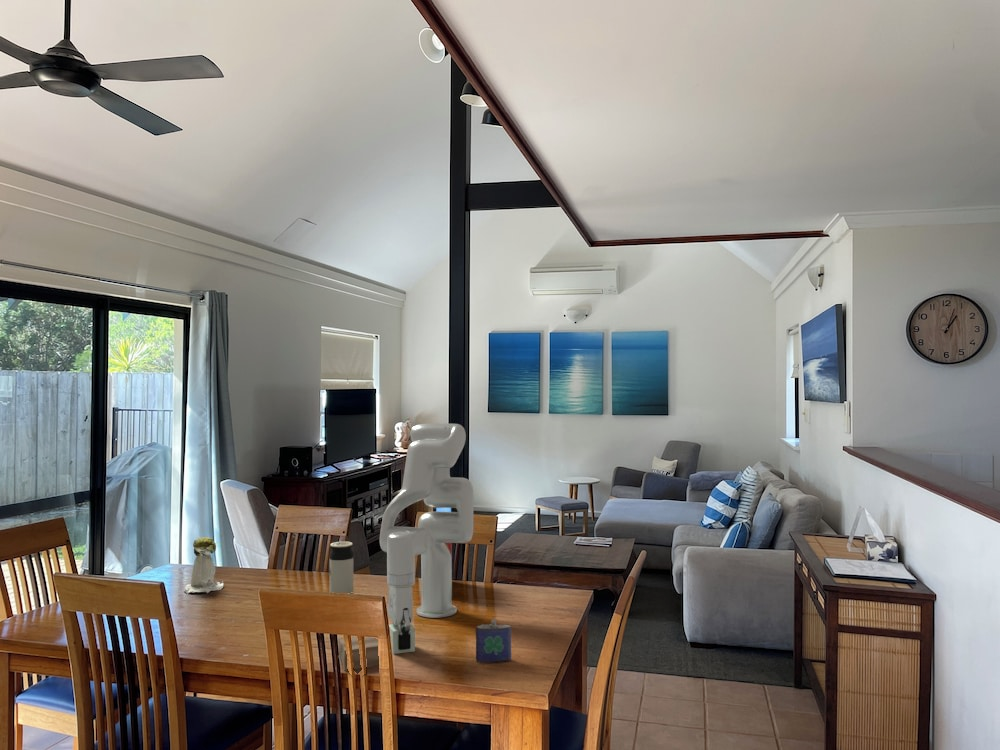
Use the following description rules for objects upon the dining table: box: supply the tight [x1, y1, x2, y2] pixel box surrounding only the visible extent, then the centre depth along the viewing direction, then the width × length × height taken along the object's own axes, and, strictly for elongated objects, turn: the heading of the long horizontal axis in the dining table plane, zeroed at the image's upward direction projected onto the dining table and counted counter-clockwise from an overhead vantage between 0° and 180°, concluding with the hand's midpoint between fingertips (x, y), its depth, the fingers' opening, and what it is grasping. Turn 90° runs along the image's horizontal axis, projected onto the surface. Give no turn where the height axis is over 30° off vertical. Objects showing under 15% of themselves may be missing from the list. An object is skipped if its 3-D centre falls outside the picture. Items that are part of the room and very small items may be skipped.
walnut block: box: [337, 635, 380, 671], centre depth 193 cm, size 10×10×5 cm
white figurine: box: [183, 536, 224, 595], centre depth 264 cm, size 12×13×18 cm
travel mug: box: [329, 540, 354, 594], centre depth 254 cm, size 8×8×18 cm
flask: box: [475, 618, 512, 664], centre depth 193 cm, size 9×3×11 cm, turn 95°
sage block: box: [388, 622, 416, 655], centre depth 202 cm, size 6×6×6 cm
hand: (401, 644), depth 202 cm, fingers closed on sage block, 6 cm apart
